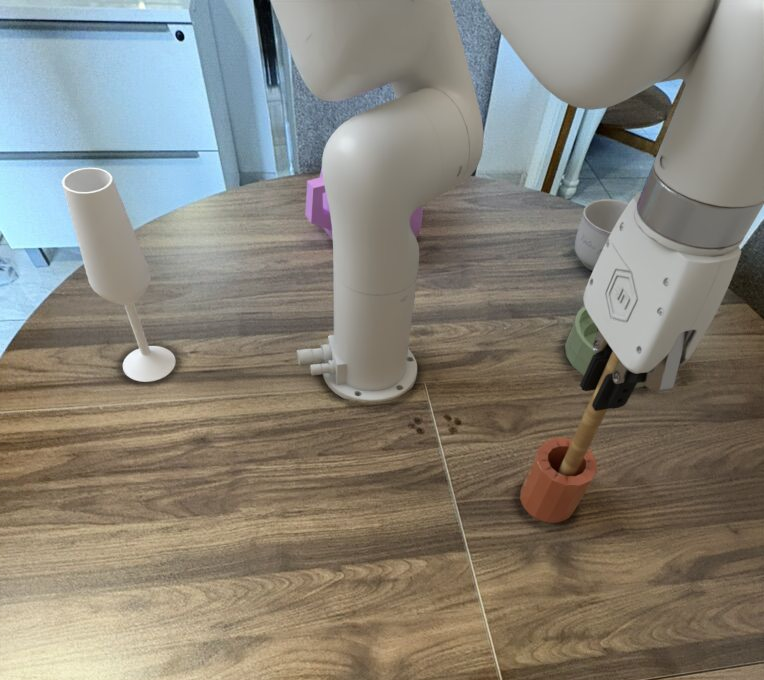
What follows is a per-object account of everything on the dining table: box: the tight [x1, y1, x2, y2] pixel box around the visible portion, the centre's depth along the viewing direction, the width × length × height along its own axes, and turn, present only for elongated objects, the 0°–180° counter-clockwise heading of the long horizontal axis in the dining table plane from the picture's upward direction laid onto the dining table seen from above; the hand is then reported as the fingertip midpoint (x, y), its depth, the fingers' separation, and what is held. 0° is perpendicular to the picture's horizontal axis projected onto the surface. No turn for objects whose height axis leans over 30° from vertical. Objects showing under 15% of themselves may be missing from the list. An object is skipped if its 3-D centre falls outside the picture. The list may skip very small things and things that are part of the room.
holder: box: [519, 437, 598, 524], centre depth 68 cm, size 6×6×8 cm
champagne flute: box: [61, 167, 176, 383], centre depth 70 cm, size 7×7×24 cm
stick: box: [558, 351, 619, 476], centre depth 60 cm, size 2×2×18 cm
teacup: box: [574, 198, 630, 272], centre depth 95 cm, size 14×11×8 cm
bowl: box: [564, 304, 646, 389], centre depth 84 cm, size 13×13×5 cm
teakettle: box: [304, 167, 424, 242], centre depth 95 cm, size 17×17×12 cm
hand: (602, 395), depth 57 cm, fingers closed on stick, 1 cm apart
